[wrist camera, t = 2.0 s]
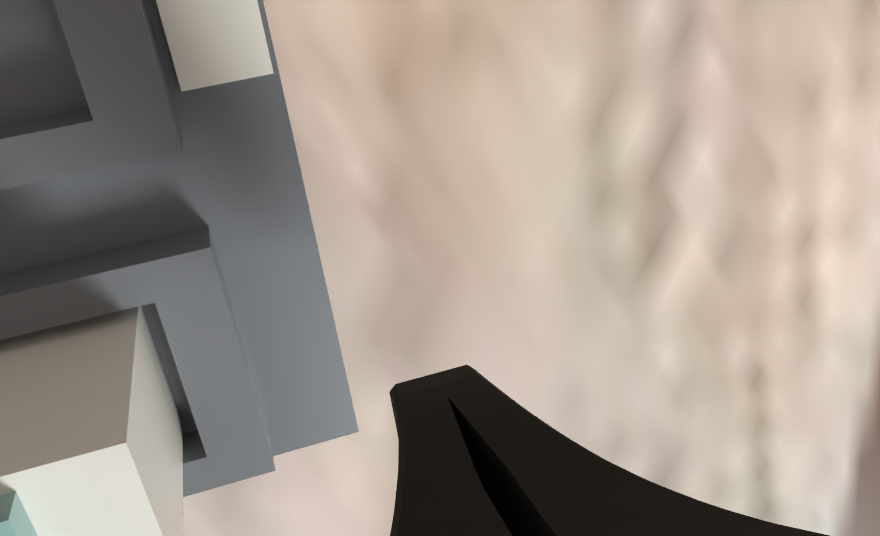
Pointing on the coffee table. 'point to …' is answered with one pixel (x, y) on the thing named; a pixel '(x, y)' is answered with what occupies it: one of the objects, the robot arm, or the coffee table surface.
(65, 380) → the tab
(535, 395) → the coffee table surface
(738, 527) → the robot arm
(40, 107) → the switch bank
